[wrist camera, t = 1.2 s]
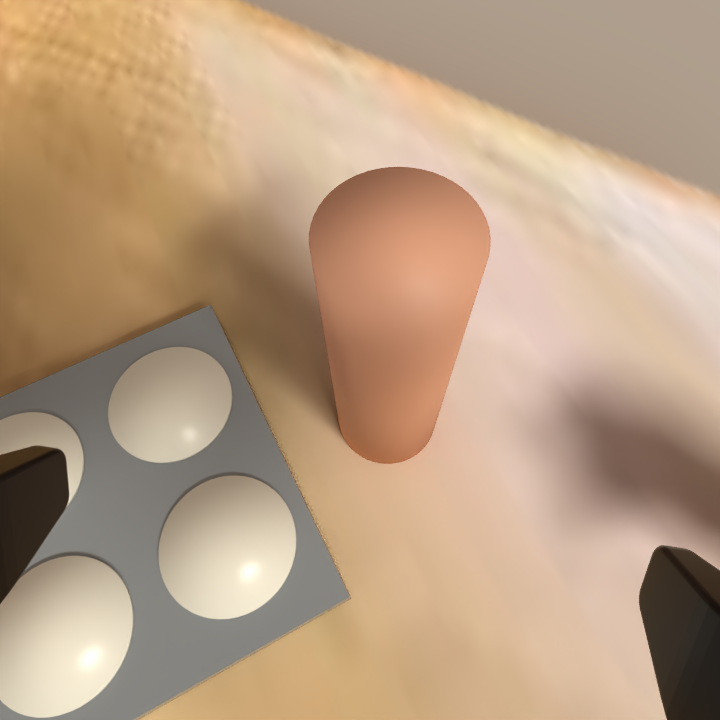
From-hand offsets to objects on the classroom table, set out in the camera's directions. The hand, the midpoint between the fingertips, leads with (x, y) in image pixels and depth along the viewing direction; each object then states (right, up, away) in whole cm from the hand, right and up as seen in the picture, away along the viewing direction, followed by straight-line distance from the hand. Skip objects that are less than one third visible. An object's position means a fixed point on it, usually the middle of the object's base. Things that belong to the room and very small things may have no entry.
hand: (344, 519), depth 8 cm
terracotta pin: (+1, 0, +15) cm, 15 cm away
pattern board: (-14, -6, +12) cm, 19 cm away
